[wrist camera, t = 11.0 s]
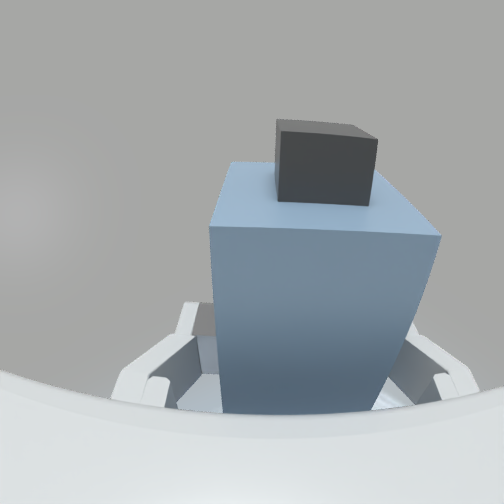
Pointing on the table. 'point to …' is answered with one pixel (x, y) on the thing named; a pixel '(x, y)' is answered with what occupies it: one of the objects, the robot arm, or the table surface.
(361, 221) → the plug block
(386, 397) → the table surface
